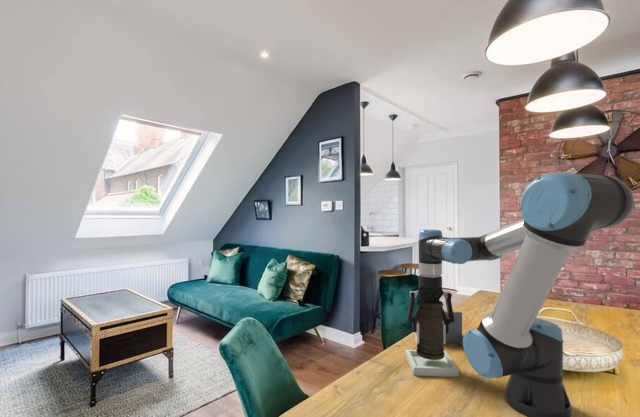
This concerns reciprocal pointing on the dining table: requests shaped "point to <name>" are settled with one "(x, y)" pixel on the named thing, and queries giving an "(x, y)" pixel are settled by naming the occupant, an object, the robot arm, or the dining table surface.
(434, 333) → the container
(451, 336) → the dock
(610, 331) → the dining table surface
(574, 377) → the dining table surface
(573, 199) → the robot arm
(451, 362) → the tray
